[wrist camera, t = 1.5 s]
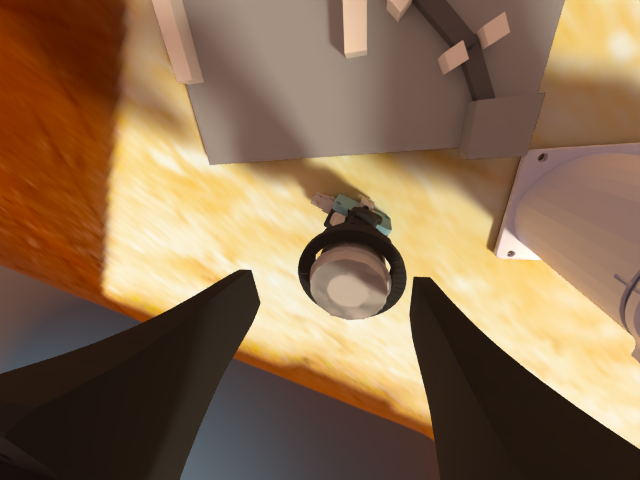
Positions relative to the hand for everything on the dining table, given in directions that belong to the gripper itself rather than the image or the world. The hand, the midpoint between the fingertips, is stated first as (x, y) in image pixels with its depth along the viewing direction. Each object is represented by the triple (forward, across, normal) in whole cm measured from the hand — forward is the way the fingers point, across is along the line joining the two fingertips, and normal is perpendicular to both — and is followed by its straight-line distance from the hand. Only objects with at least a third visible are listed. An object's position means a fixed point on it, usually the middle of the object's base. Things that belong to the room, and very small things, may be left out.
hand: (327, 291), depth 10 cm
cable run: (+9, -6, -9) cm, 14 cm away
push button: (+11, 0, 0) cm, 11 cm away
